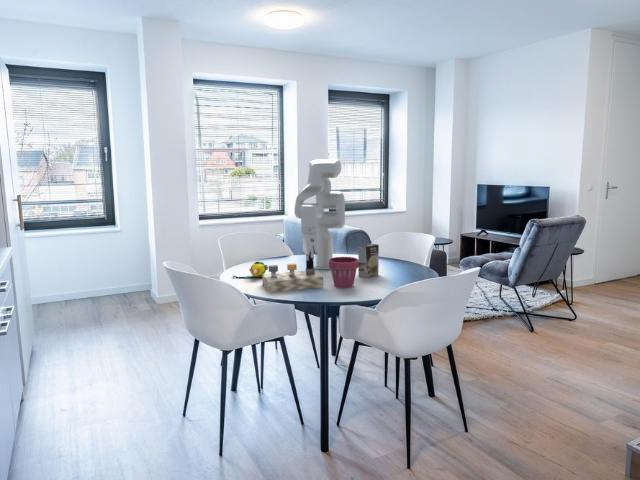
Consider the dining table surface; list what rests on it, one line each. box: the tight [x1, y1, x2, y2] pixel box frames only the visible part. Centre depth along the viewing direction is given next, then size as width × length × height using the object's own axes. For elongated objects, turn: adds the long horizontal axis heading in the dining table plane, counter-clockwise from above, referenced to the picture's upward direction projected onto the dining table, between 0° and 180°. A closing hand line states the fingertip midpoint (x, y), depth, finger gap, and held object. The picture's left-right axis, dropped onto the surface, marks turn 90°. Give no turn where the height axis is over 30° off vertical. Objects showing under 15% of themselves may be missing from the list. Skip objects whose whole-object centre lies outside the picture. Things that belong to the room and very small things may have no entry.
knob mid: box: [286, 263, 298, 277], centre depth 228 cm, size 4×4×6 cm
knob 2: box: [305, 268, 316, 275], centre depth 231 cm, size 4×4×6 cm
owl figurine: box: [232, 261, 269, 279], centre depth 250 cm, size 28×9×15 cm
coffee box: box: [357, 243, 380, 279], centre depth 246 cm, size 9×6×16 cm
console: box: [261, 270, 324, 293], centre depth 229 cm, size 26×16×5 cm, turn 107°
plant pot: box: [329, 256, 359, 289], centre depth 226 cm, size 14×14×13 cm
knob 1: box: [268, 264, 279, 278], centre depth 225 cm, size 4×4×6 cm
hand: (309, 268), depth 230 cm, fingers closed
